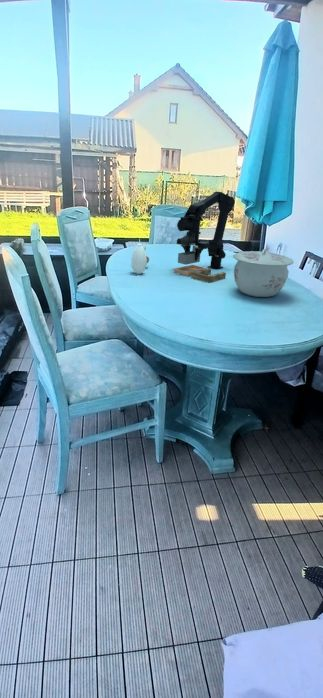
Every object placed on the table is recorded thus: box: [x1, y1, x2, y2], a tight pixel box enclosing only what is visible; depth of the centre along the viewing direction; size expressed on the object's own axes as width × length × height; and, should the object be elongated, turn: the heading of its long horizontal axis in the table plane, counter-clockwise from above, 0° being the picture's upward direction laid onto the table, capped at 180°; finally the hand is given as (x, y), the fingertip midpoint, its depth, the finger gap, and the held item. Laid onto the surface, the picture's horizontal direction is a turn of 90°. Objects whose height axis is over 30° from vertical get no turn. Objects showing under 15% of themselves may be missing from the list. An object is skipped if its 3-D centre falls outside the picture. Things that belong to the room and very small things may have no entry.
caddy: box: [177, 245, 201, 266], centre depth 206 cm, size 12×6×8 cm, turn 137°
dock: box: [190, 268, 227, 284], centre depth 201 cm, size 15×12×3 cm
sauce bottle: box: [130, 238, 148, 275], centre depth 199 cm, size 8×8×18 cm
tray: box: [173, 264, 208, 277], centre depth 211 cm, size 17×10×2 cm, turn 138°
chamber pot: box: [232, 248, 295, 298], centre depth 177 cm, size 28×28×21 cm
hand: (191, 259), depth 208 cm, fingers closed on caddy, 5 cm apart
